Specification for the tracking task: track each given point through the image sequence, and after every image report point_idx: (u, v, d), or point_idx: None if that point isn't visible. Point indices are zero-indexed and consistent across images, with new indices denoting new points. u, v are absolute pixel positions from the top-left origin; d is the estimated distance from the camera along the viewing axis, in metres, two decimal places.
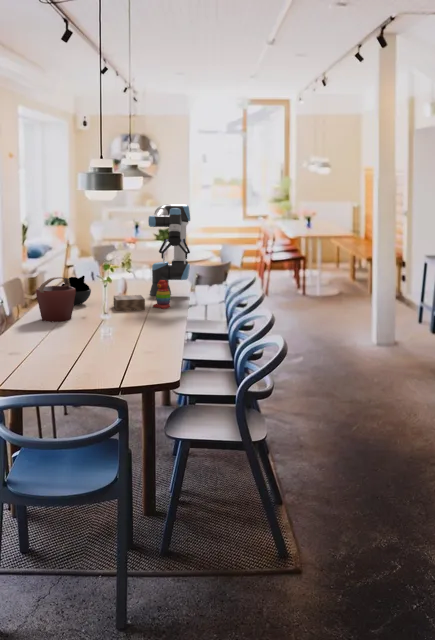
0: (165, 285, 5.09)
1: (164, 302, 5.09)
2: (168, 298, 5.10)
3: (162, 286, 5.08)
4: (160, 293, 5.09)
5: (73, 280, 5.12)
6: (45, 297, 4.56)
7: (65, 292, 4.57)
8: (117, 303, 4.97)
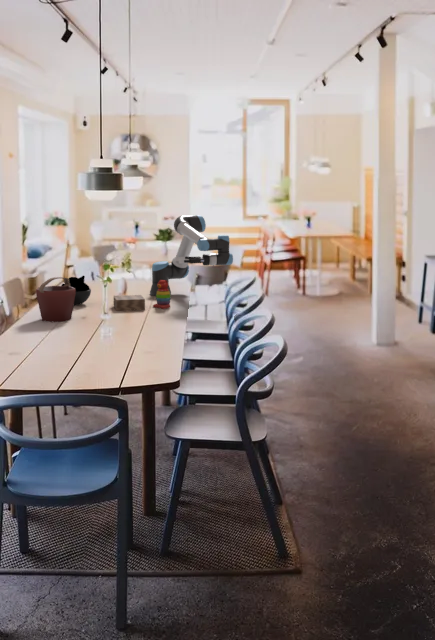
0: (165, 285, 5.09)
1: (164, 302, 5.09)
2: (168, 298, 5.10)
3: (162, 286, 5.08)
4: (160, 293, 5.09)
5: (73, 280, 5.12)
6: (45, 297, 4.56)
7: (65, 292, 4.57)
8: (117, 303, 4.97)
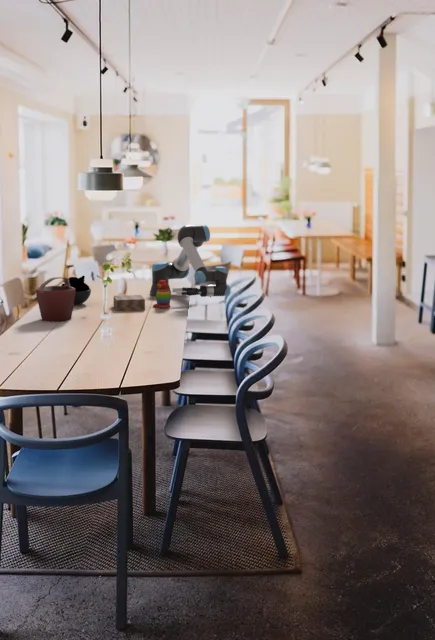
0: (165, 285, 5.09)
1: (164, 302, 5.09)
2: (168, 298, 5.10)
3: (162, 286, 5.08)
4: (160, 293, 5.09)
5: (73, 280, 5.12)
6: (45, 297, 4.56)
7: (65, 292, 4.57)
8: (117, 303, 4.97)
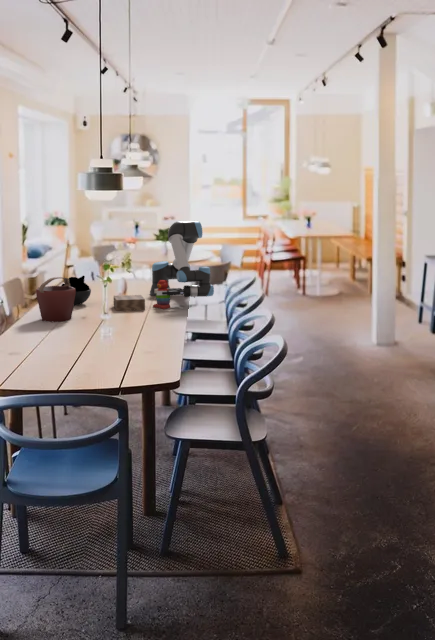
0: (165, 285, 5.08)
1: (164, 302, 5.09)
2: (168, 298, 5.10)
3: (162, 286, 5.08)
4: None
5: (73, 280, 5.12)
6: (45, 297, 4.56)
7: (65, 292, 4.57)
8: (117, 303, 4.97)
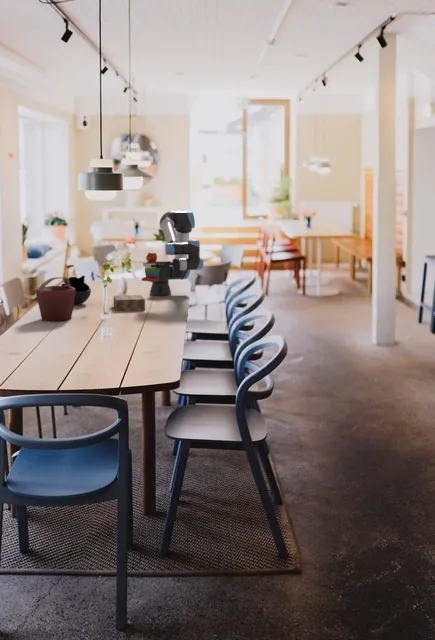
0: (154, 258, 5.02)
1: (153, 275, 5.03)
2: (157, 271, 5.03)
3: (151, 259, 5.01)
4: None
5: (73, 280, 5.12)
6: (45, 297, 4.56)
7: (65, 292, 4.57)
8: (117, 303, 4.97)
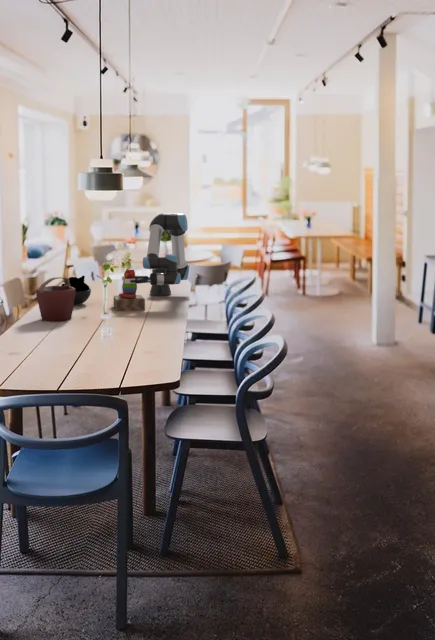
0: (132, 274, 5.03)
1: (130, 291, 5.03)
2: (134, 288, 5.04)
3: (129, 275, 5.02)
4: None
5: (73, 280, 5.12)
6: (45, 297, 4.56)
7: (65, 292, 4.57)
8: (117, 303, 4.97)
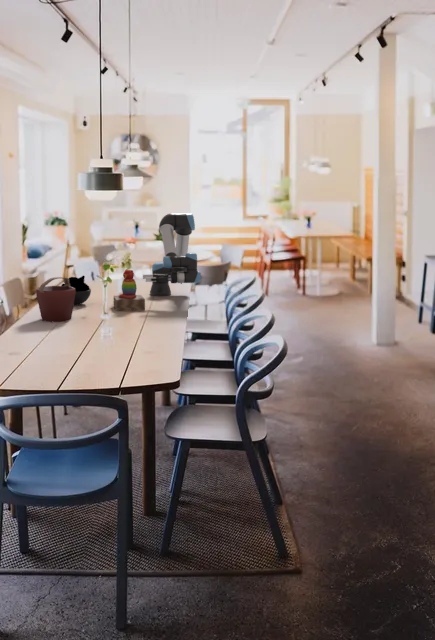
0: (131, 275, 5.02)
1: (130, 292, 5.03)
2: (134, 288, 5.04)
3: (128, 276, 5.01)
4: (126, 283, 5.02)
5: (73, 280, 5.12)
6: (45, 297, 4.56)
7: (65, 292, 4.57)
8: (117, 303, 4.97)
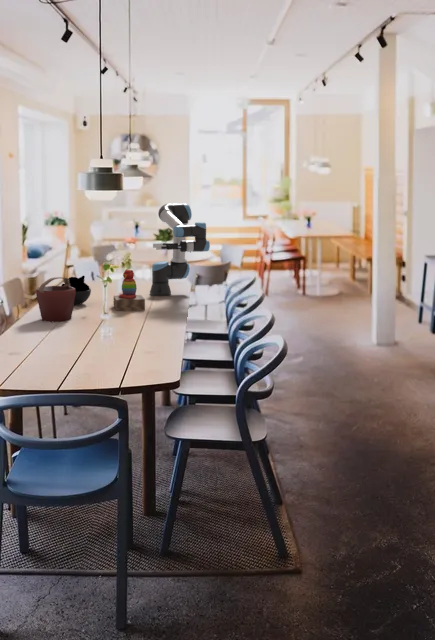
0: (131, 275, 5.02)
1: (130, 292, 5.03)
2: (134, 288, 5.04)
3: (128, 276, 5.01)
4: (126, 283, 5.02)
5: (73, 280, 5.12)
6: (45, 297, 4.56)
7: (65, 292, 4.57)
8: (117, 303, 4.97)
